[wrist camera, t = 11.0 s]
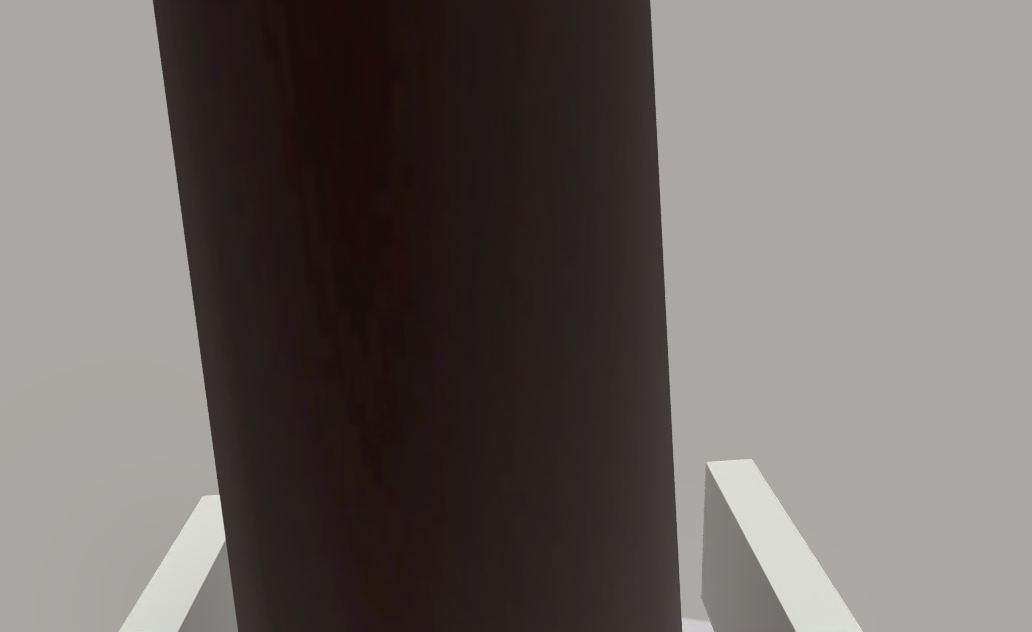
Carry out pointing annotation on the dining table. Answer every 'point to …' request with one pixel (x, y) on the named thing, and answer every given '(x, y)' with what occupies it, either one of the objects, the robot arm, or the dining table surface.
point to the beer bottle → (430, 310)
